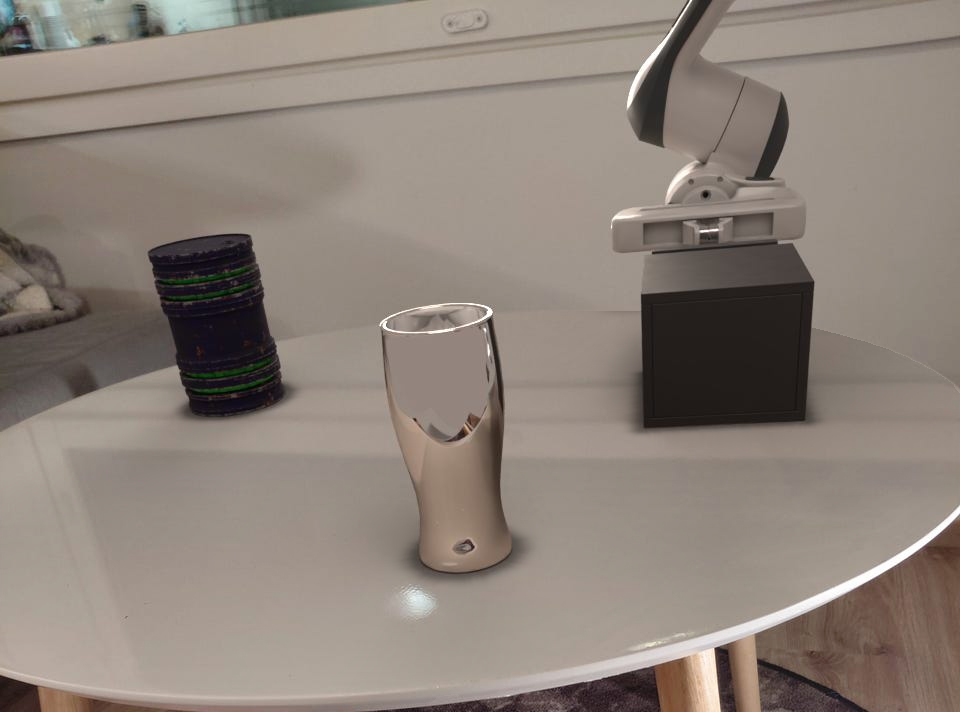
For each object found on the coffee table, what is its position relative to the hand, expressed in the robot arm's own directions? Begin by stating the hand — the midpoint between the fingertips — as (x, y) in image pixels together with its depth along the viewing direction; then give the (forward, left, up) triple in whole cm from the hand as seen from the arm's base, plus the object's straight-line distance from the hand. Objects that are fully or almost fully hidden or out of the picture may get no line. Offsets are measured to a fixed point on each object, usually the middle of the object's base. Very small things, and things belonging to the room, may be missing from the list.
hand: (709, 238), depth 99 cm
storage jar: (+46, -19, -9) cm, 51 cm away
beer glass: (+47, +27, -9) cm, 55 cm away
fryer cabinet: (+15, +17, -9) cm, 25 cm away
